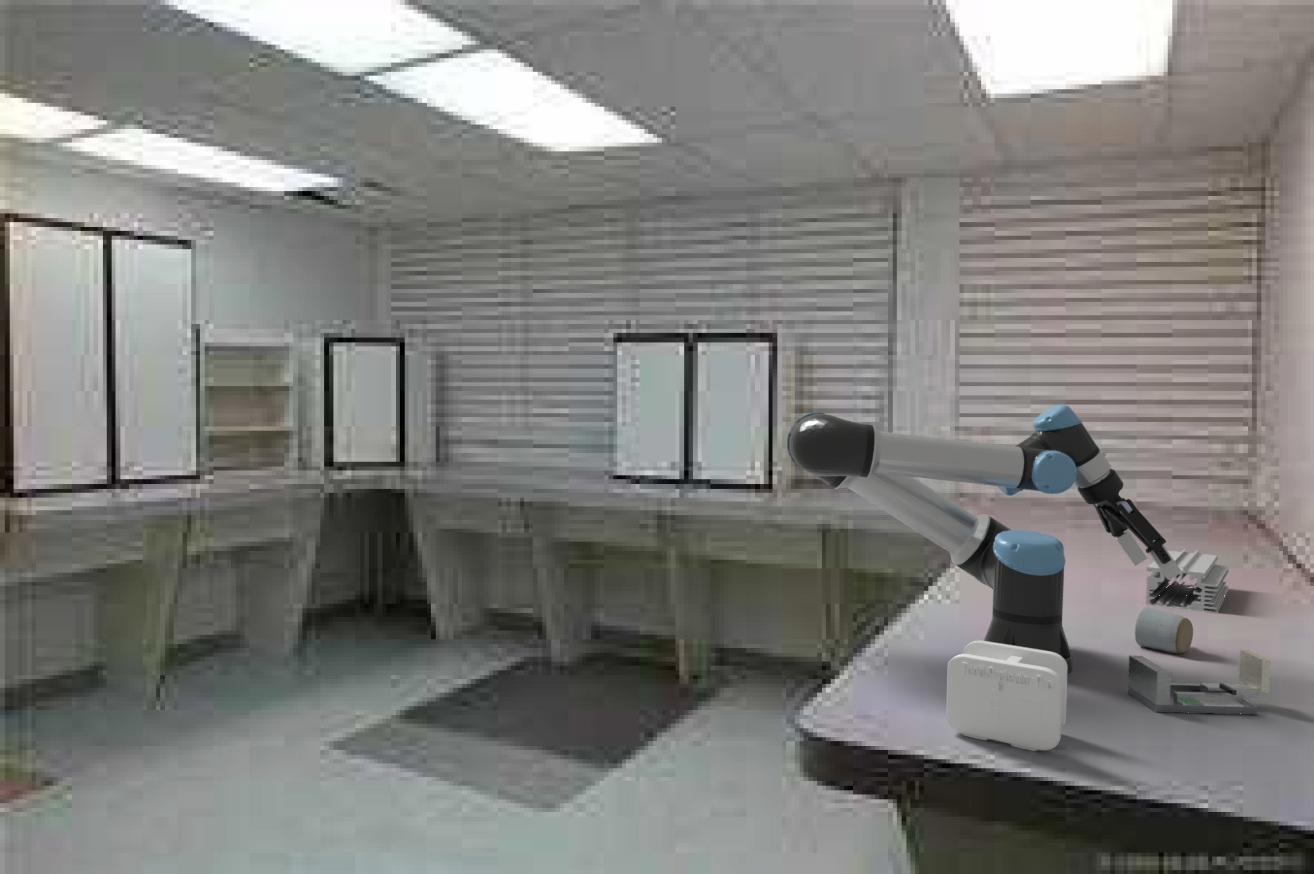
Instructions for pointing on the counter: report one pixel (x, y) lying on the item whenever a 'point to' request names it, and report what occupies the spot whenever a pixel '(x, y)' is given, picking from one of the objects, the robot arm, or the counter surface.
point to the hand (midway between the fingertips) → (1157, 568)
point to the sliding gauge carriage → (1245, 677)
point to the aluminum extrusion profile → (1200, 595)
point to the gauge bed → (1178, 692)
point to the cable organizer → (1007, 694)
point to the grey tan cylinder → (1163, 631)
